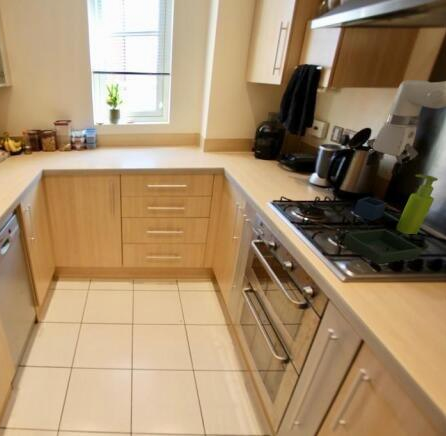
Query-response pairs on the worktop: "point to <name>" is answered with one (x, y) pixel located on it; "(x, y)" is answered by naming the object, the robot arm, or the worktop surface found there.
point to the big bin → (383, 238)
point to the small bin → (369, 208)
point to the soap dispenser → (417, 207)
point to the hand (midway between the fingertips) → (382, 169)
